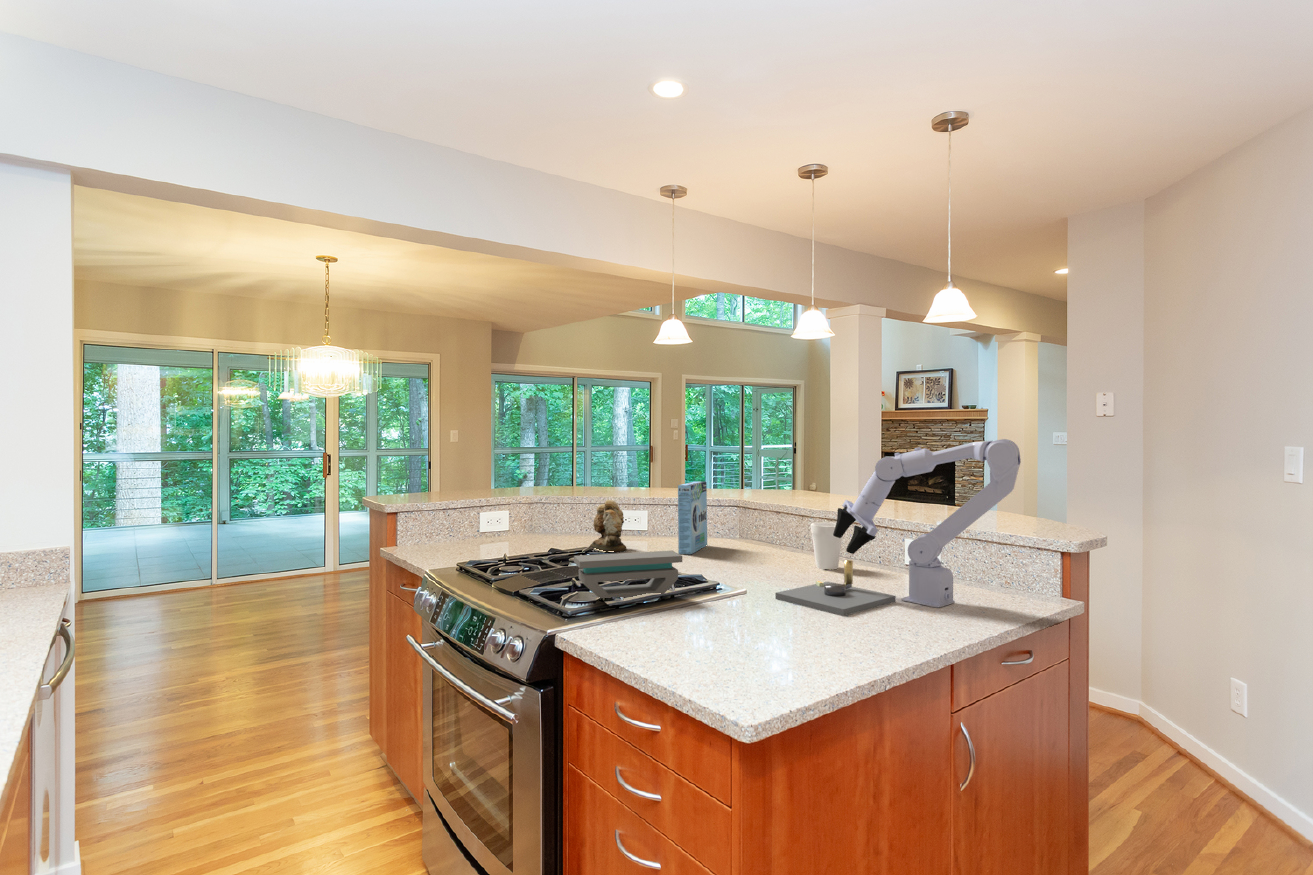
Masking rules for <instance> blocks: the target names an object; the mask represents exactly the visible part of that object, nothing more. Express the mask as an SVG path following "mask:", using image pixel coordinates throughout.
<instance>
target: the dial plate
mask: <svg viewBox="0 0 1313 875" xmlns="http://www.w3.org/2000/svg"><path fill="white" fill-rule="evenodd" d="M828 583H834V582H831V581H825V582H823V581H821V580H816V581H815V584H810V585H805V586H801V587H796V588H791V589H786V590H781V591H777V592H775V593H774V594H775V600H779V601H782V602H786V603H790V604H794V605H798V606H802V607H806V608H810V609H814V610H818V611H822V612H825V613H830V614H833V615H837V616H842V617H844V616H848V615H852V614H856V613H861V612H864V611H867V610H871V609H874V608H879V607H882V606H887V605H889V604H893V603H896V602H897V601H896V600H897V598H896V597H897V596H896V595H893V594H889V593H884V592H879V591H875V590H869V589H865V588H860V587H856V586H852V587H851V588H848V589H846V595H844V596H829V595H826V594H824V585H825V584H828Z"/></svg>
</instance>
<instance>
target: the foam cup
mask: <svg viewBox="0 0 1313 875" xmlns="http://www.w3.org/2000/svg"><path fill="white" fill-rule="evenodd" d="M835 526H836V522H829V521H828V522H825V521H824V522H823V521H822V522H819V521H818V522H812V523H810V533H811V538H812V545H813V552H814V553H813V554H814V561H815V566H816V567H817V568H819V569H818V570H820V569H837V568H838V569H839V564H840V555H841V548H842V540H843V536H842V537H841V538H838V537H835V536H833V533H834V530H835ZM816 567H815V568H816ZM817 568H816V569H817ZM838 569H837V570H838Z"/></svg>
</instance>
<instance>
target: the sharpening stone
mask: <svg viewBox="0 0 1313 875" xmlns="http://www.w3.org/2000/svg"><path fill="white" fill-rule="evenodd" d="M573 563H574V564H575V565H576V566H577V567H578V568H579V569H578V579H579V581H580V582H582V584H583V585H584V586H585V587H586V588H587V589H589V591H590V592H592V593H593V594H594V595H595V596H596V597H597V598H599V597H600V598H611V597H633V596H637V595H642V594H646V593H661V594H663V595H665V594H666V592H667V591H668V590H669V589H670V588H671V587H672V586H673V585H674V584H675V583H676V582H677V580H678V579H679V569H677V568H676V567H674V566H673V564H674V563H675V564H676V563H683V554H679V553H678V552H676V551H674V550H659V551H658V550H657V551H640V552H619V553H600V554H584V555H573ZM647 579H648V580H649V579H650V580H649V581H648V582H647V583H644V584H643V583H642V584H629V585H617V586H616V585H613V586H601V585H600V584H599V583H601V582H602V583H603V582H616V581H617V582H618V581H632V580H633V581H634V580H647ZM600 598H599V599H600Z"/></svg>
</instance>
